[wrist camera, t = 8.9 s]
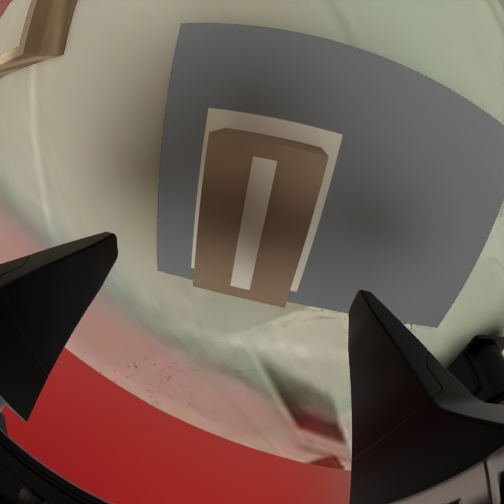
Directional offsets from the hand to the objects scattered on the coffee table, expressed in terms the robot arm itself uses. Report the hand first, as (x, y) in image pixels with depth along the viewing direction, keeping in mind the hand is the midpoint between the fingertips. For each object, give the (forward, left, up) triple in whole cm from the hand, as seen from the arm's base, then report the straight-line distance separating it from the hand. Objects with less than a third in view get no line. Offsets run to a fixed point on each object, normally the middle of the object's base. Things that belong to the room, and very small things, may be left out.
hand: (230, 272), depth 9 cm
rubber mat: (-5, -2, -7) cm, 9 cm away
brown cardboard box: (0, 0, -7) cm, 7 cm away
